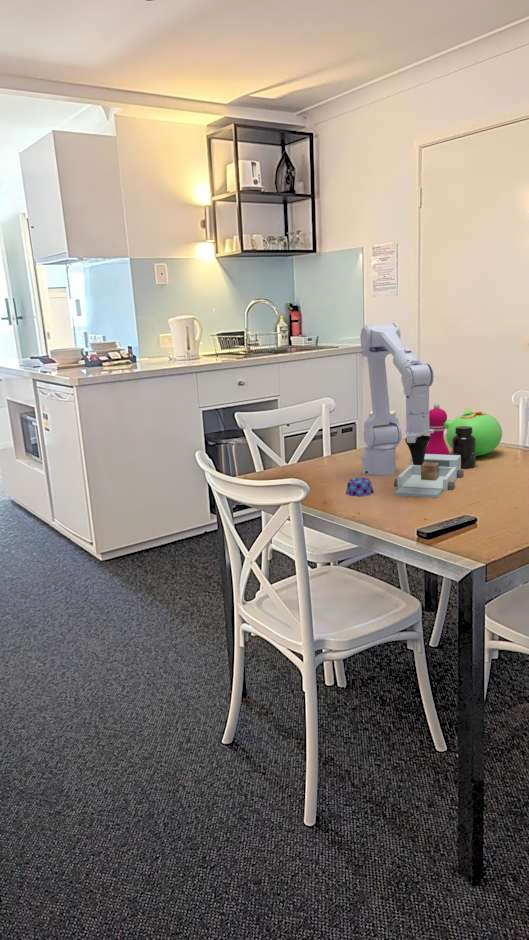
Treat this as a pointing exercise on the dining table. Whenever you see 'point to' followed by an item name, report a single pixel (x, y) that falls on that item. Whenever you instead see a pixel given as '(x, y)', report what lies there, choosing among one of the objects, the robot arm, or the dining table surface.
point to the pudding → (359, 487)
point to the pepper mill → (437, 431)
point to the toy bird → (477, 430)
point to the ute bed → (445, 481)
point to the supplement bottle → (464, 446)
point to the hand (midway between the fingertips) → (418, 464)
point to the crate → (429, 471)
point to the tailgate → (418, 492)
